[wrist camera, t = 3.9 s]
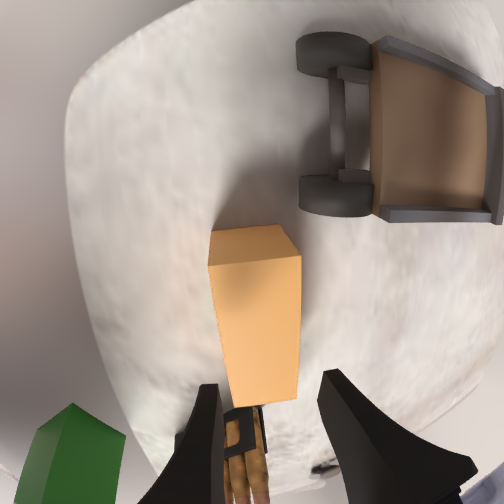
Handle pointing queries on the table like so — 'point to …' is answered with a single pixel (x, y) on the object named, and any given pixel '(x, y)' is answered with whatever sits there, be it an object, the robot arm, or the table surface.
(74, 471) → the hardback book
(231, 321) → the block
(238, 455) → the ammunition clip
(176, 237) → the table surface
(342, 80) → the dolly
